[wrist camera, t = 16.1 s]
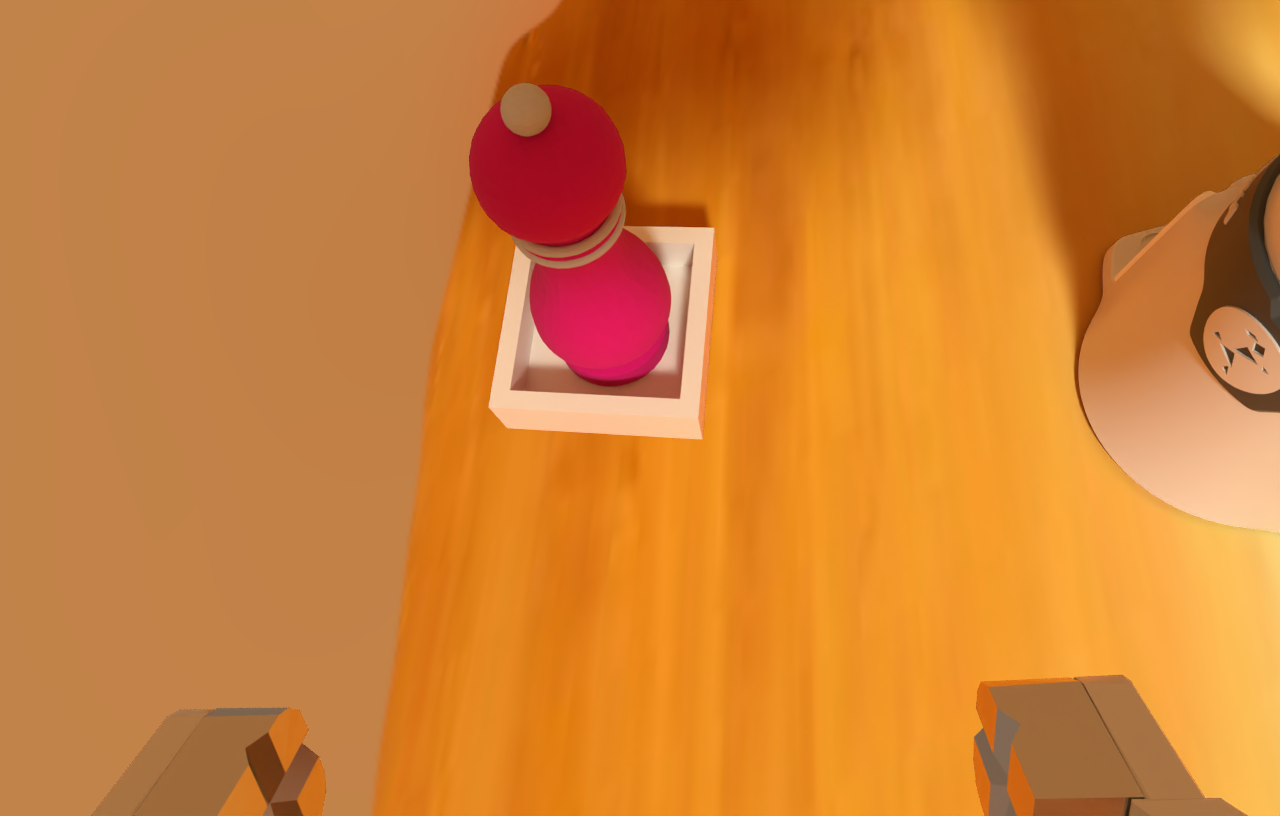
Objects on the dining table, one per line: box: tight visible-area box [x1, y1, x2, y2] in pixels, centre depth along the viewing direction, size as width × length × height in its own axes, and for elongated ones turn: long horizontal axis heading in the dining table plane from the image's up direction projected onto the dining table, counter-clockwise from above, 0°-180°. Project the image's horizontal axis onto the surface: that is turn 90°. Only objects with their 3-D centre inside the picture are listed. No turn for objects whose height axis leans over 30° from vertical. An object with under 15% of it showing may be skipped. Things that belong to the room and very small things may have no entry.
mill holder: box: [489, 226, 717, 439], centre depth 47 cm, size 11×11×4 cm
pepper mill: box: [469, 83, 671, 386], centre depth 38 cm, size 7×7×20 cm
